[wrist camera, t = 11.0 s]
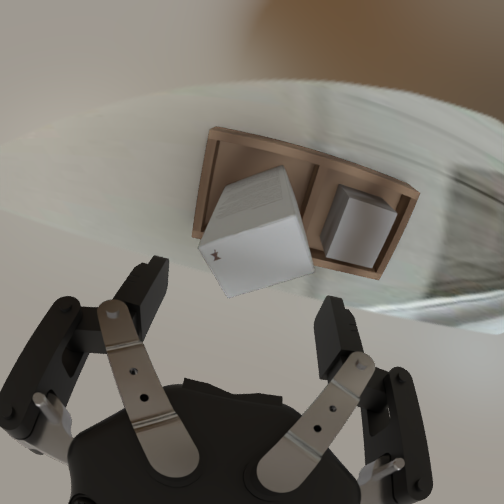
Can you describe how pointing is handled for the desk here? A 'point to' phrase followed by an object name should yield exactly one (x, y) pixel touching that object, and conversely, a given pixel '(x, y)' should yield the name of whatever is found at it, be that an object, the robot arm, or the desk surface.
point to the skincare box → (256, 235)
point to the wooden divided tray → (315, 198)
